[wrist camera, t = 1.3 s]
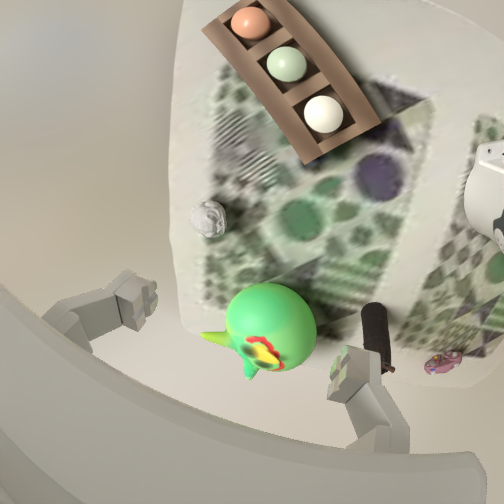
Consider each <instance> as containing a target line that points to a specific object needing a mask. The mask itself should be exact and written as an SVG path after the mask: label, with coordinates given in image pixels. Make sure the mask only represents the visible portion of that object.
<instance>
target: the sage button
mask: <svg viewBox="0 0 504 504" xmlns="http://www.w3.org/2000/svg"><path fill="white" fill-rule="evenodd" d="M267 68H268V70H269V72H270V74H271V75H272V76H274V77H275V78H277V79H279V80H281V81H283V82H287V83H293V82H297V81H299V80H301V79H302V78H303V77H304V76H305V74H306V72H307V68H308V65H307V61H306V59H305V58H304V56H303V55H302V53H301V52H299V51H298V50H297V49H295V48H292V47H280V48H277V49H275V50H274V51H273V52H271V54H270V55H269V57H268V59H267Z"/></svg>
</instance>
